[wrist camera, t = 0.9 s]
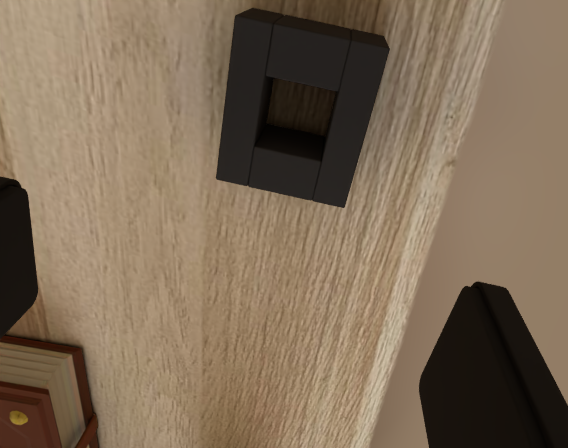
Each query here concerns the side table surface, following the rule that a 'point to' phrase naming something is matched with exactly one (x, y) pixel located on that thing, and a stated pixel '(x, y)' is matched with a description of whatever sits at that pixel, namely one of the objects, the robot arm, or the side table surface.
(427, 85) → the side table surface
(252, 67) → the small black rectangular frame
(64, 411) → the book
